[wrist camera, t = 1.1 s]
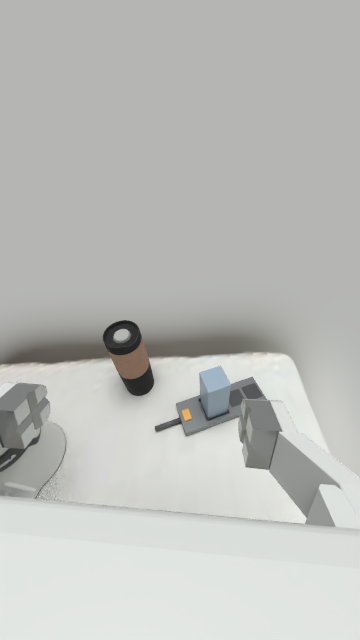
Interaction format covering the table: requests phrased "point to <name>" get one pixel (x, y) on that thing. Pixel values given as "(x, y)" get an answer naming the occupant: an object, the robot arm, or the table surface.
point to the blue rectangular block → (214, 392)
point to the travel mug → (129, 356)
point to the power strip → (197, 422)
